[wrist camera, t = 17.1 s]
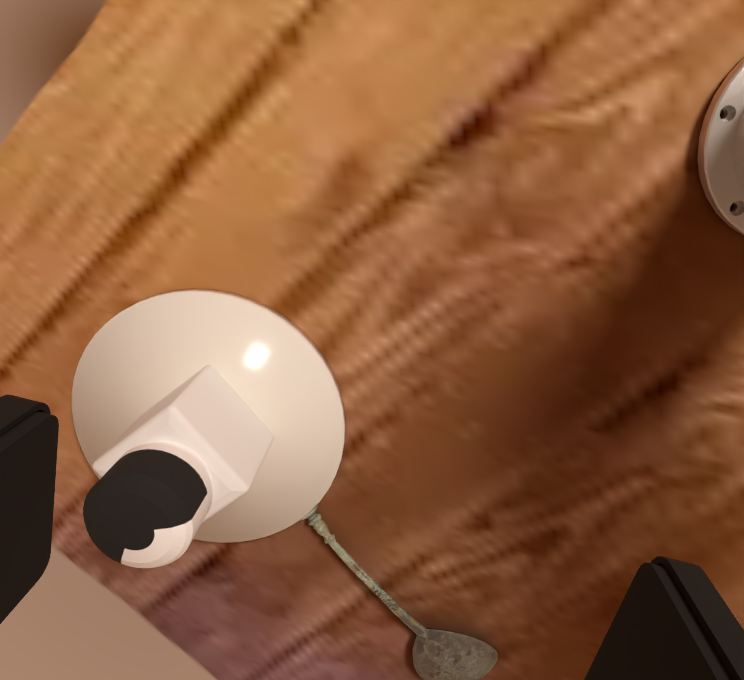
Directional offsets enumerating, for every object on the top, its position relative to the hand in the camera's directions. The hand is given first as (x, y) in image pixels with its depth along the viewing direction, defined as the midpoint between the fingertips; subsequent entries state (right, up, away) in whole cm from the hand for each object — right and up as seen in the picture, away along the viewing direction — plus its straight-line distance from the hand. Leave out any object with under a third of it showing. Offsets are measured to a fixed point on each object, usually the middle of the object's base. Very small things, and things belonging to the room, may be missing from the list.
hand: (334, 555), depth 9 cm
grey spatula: (+3, -17, +38) cm, 42 cm away
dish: (-11, -3, +34) cm, 36 cm away
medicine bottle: (-11, -3, +33) cm, 35 cm away
